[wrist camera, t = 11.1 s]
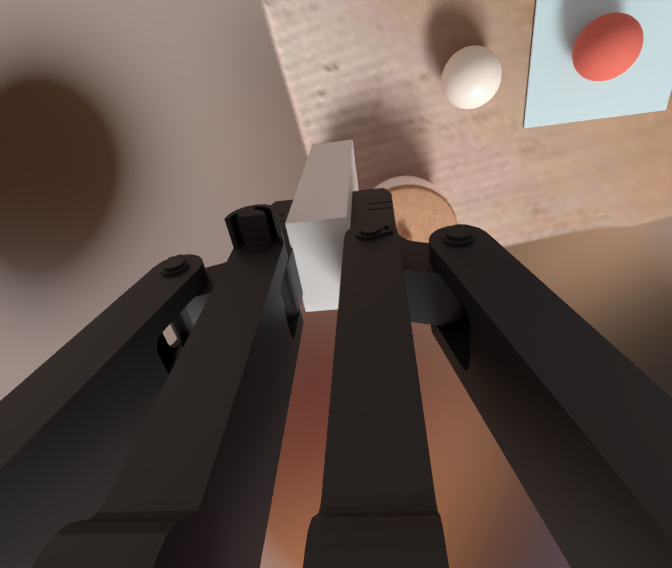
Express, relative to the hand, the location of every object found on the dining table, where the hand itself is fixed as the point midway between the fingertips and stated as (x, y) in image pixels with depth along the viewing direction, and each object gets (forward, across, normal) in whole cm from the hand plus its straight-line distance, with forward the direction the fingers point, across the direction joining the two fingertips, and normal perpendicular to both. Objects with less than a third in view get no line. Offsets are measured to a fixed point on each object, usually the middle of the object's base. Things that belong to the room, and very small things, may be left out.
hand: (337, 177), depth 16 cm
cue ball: (+30, +11, -2) cm, 32 cm away
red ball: (+30, +23, -2) cm, 38 cm away
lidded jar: (+33, +4, -16) cm, 37 cm away
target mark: (+32, +24, -2) cm, 41 cm away
